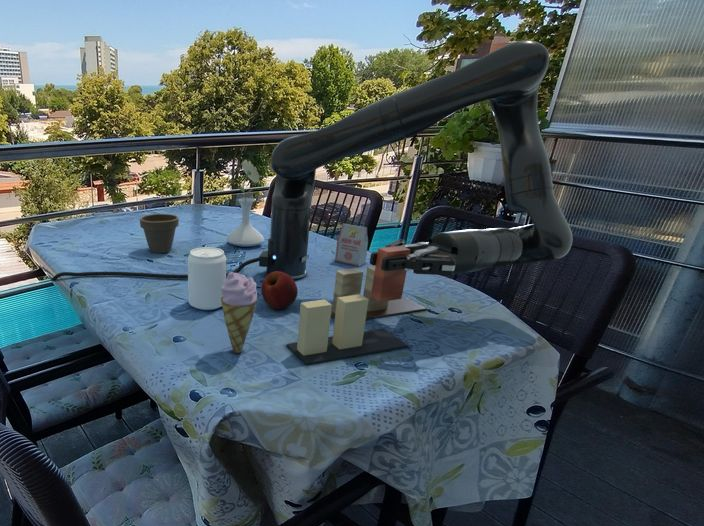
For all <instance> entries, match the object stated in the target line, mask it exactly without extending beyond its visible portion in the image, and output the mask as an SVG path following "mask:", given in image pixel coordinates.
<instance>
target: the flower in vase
mask: <svg viewBox="0 0 704 526" xmlns="http://www.w3.org/2000/svg"><path fill="white" fill-rule="evenodd" d="M241 167H242V170H243V172H244V173H245V178H244V180H243V183H242V186H241V185H239V186H240V188H239V191H241V192H242V193H243V198H238V199H237V201H238V203H239V204H240V208H241V223H240V224H239V226H238V227H236V228H235V229H234V230H232V231H231V232H230V233H229V234H228V235H227V237H226V241H227V242H228V244H230V245H232V246H236V247H243V248H244V247H245V248H246V247H248V248H249V247H255V246H258V245H261V244H263V242H264V241H265V238H264V236H263V234H262V233H261V232H259V231H258V230H257V229H256V228H255V227H253V226H252V224H251V220H250V218H251V216H250V215H251V209H252V206H253V203H254V202H255V201H256V200H255V198H252V197H251V198H249V197H246V195H248V194H249V193H251V192H252V191H253V189H252V188H250V189H249V190H248V191H246V192H245V183H246V180H247V178H249V180H250V181H252V183H255V184H257V183H260V182H261V180H260V178H261V176H260V174H259V171H258V168H257V167H256V166H254V163H252V161H250V160H249V161H248V160H247V159H244V160H243V161H242V162H241Z"/></svg>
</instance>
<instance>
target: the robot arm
mask: <svg viewBox="0 0 704 526" xmlns="http://www.w3.org/2000/svg"><path fill="white" fill-rule="evenodd" d="M549 63H550V53H549V51H548V49H547V47H546V46H545V45H544V44H542V43H540V42H538V41H534V40H528V39H527V40H525V39H524V40H518V41H513V42H511V43H508V44H505V45H503V46H501V47H499V48H497V49H495V50H493V51H491V52H489V53H487V54H485V55H484V56H481V57H480V58H478V59H475V60H473V61H471V62H470V63H468V64H466V65H463V66H462V67H460V68H458V69H456V70H452V71H451V72H449V73H446V74H444V75H441V76H438V77H436V78H433V79H430V80H428V81H425V82H422V83H420V84H418V85H415V86H412V87H410V88H407V89H405V90H402V91H399V92H397V93H394V94H391V95H389V96H386V97H384V98H381V99H379V100H377V101H375V102H373V103H370V104H368V105H366V106H364V107H362V108H360V109H358V110H356V111H354V112H352V113H350V114H349V115H347V116H345V117H343V118H341V119H340V120H337V121H336V122H333V123H332V124H330V125H328V126H325V127H323V128H320V129H317V130H314V131H312V132H307V133H304V134H301V135H299V134H297V135H292V136H289V137H287V138H284V139H283V140H281V141H279V143H277V145H276V146H275V147H274V148H273V150H272V152H271V156H270V167H271V168H272V172H274V173H275V174H276V175H275V184H274V189H273V192H272V196H271V212H270V230H269V237H268V241H267V250H263V251H261V253H260V255H259V256H258V257H255V258H252V259H249V260H245V261H244V262H242V263H241V264H240V265H239V266H238V267H237V268H236V269H235V270H233V271H232V272H233V273H238V274H240V272H241V271H242V269H243V268H245V267H247V266H248V265H251V264H255V263H258V267H260V268H266V276H267V275H268V274H269V273H271V272H274V271H279V272H284V273H286V274H288V275H289V276H290V277H292V279H293V280H299V279H303V278H305V276H306V274H307V260H309V258H310V253H309V254H308V247H309V237H310V236H309V235H310V223H311V213H312V202H313V201H312V200H313V195H314V191H315V181H316V173H317V170H318V169H319V168H321V167H324V166H326V165H329V164H330V163H333V162H335V161H338V160H341V159H345V158H348V157H352V156H356V155H360V154H363V153H368V152H371V151H374V150H378V149H381V148H383V147H388V146H390V145H393V144H395V143H399V142H402V141H404V140H405V139H406V140H407V139H409V138H412V137H415V136H416V135H418V134H420V133H423V132H424V131H426V130H428V129H429V128H431V127H433V126H435V125H436V124H437V123H440V122H441V121H443V120H444V119H446V118H447V117H450V116H451V115H453V114H454V113H456V112H459V111H460V110H463V109H466V108H468V107H470V106H473V105H476V104H479V103H483V102H485V101H488V103H489V106H490V108H491V112H492V114H493V117H494V120H495V125H496V129H497V133H498V138H499V144H500V154H501V155H500V156H501V167H502V175H503V176H502V177H503V185H504V192H505V200H506V206H507V209H508V211H510V212H511V213H513V214H514V213H515V214H527V215H528V217H529V218H530V220H531V221H532V224H527V225H521V226H517V227H511V228H507V227H493V228H486V229H485V228H484V229H473V228H472V229H471V228H470V229H462V230H453V231H443V232H437V233H435V234H434V235H433V236H431V237H430V238H429V239H428V240H427V241H426V242H425V241H421V242H420V241H417V242H416V243H408V244H406V240H404V239H397V240H395V241H393V242H390V243H388V244H386V245H384V248H385V247H394V246H403V247H405V248H408V249H410V254H409V255H405V258H404V256H394V257H385V258H383V260H382V265H381V269H382V270H383V271H392V270H400V269H403V270H405V271H407V272H410V271H413V272H412V273H413V274H416V275H432V276H433V275H435V276H449V277H450V276H453V275H459V274H465V273H473V272H479V271H482V270H486V269H493V268H494V269H495V268H499V267H505V266H511V265H522V264H530V263H539V262H546V261H547V262H548V261H553V260H554V261H555V260H559V259H561V258H564V257H565V256H566V255H568V253H569V252H570V250H571V248H572V245H573V241H574V239H573V237H574V236H573V231H572V229H571V226H570V225H569V223H568V220H567V219H566V217H565V215H564V213H563V211H562V209H561V206H560V205H559V202H558V200H557V199H556V196H555V191H554V183H553V175H552V168H551V163H550V159H549V154H548V152H547V148H546V145H545V143H544V140H543V137H542V133H541V130H540V124H539V115H538V98H539V88H540V85H541V83H542V81H543V80H544V77H545V75H546V73H547V71H548V68H549ZM377 253H378V251H373V252H371V253H370V257H369V265H370V266H376V260H377ZM229 273H230V272H226V276H228V274H229ZM65 276H66V277H89V276H91V277H92V276H119V277H120V276H123V277H140V278H155V279H156V278H157V279H158V278H159V279H183V280H185V279H186V280H188V274H173V273H172V274H171V273H170V274H169V273H152V272H151V273H150V272H133V271H84V272H83V271H82V272H73V271H61V272H58V273H56V274H55V275H53V276H52V278H51V279H50V281H51V282H55V281H57V279H59V278H61V277H65Z"/></svg>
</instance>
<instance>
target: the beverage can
mask: <svg viewBox="0 0 704 526" xmlns="http://www.w3.org/2000/svg"><path fill="white" fill-rule="evenodd" d="M226 274H227V256H226V255H225V251H224V250H223V249H222V248H219V247H213V246H201V247H195V248H193V249H190V251H189V254H188V256H187V275H188V279H187V288H188V289H187V290H188V291H187V296H188V304H189V305H190V306H191V307H192V308H195V309H197V310H203V311H212V310H216V309H219V308H221V307H222V302H221V297H222V296H223V295H222V291H221V287H222V286H223V285H224V283H225V281H226V280H227V277H226Z"/></svg>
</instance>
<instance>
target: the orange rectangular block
mask: <svg viewBox="0 0 704 526" xmlns="http://www.w3.org/2000/svg"><path fill="white" fill-rule="evenodd" d="M377 252H378V253H377V260H376V266H375V272H374V279H373V285H372V292H371V297H372V298H373V299H375V300H377V301H378V302H383V301H390V300H397V299H402V296H403V293H404V288H405V282H406V276H407V272H408V271H405V270H403V269H400V270H392V271H383V270H382V269H381V265H382V260H383V258H385V257H394V256H404V258H405V255H409V254H410V249H408V248H405V247H403V246H394V247H385V246H384V247H378V248H377Z"/></svg>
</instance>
